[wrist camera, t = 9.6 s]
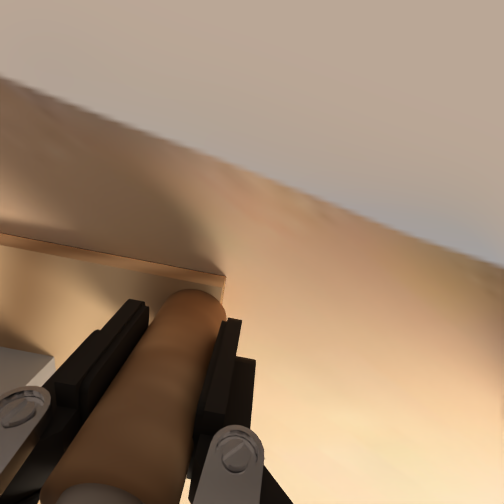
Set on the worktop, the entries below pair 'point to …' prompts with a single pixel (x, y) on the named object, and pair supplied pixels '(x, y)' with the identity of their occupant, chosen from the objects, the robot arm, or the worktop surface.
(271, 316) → the worktop surface
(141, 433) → the grey-capped wooden cylinder
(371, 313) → the worktop surface
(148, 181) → the worktop surface
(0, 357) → the block
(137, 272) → the panel
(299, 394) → the worktop surface
